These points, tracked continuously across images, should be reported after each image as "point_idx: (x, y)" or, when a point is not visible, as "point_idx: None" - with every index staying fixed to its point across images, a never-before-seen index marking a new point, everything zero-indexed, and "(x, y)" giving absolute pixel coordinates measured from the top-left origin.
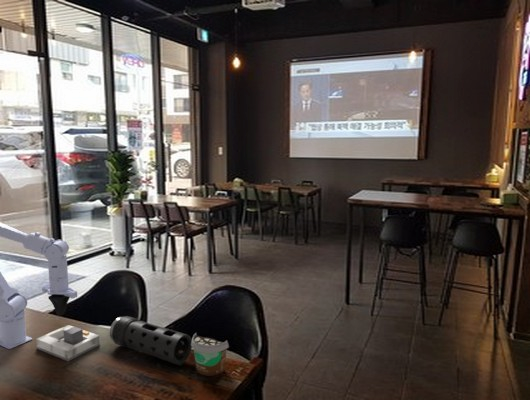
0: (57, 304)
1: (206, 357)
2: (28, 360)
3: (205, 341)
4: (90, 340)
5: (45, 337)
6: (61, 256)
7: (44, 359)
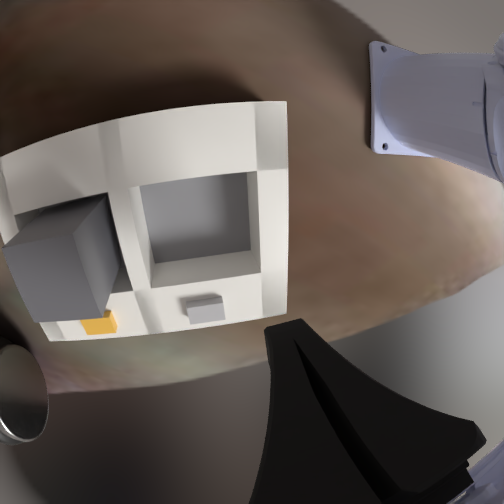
0: (293, 439)
1: None
2: (177, 18)
3: None
4: None
5: (248, 146)
6: None
7: (113, 73)
